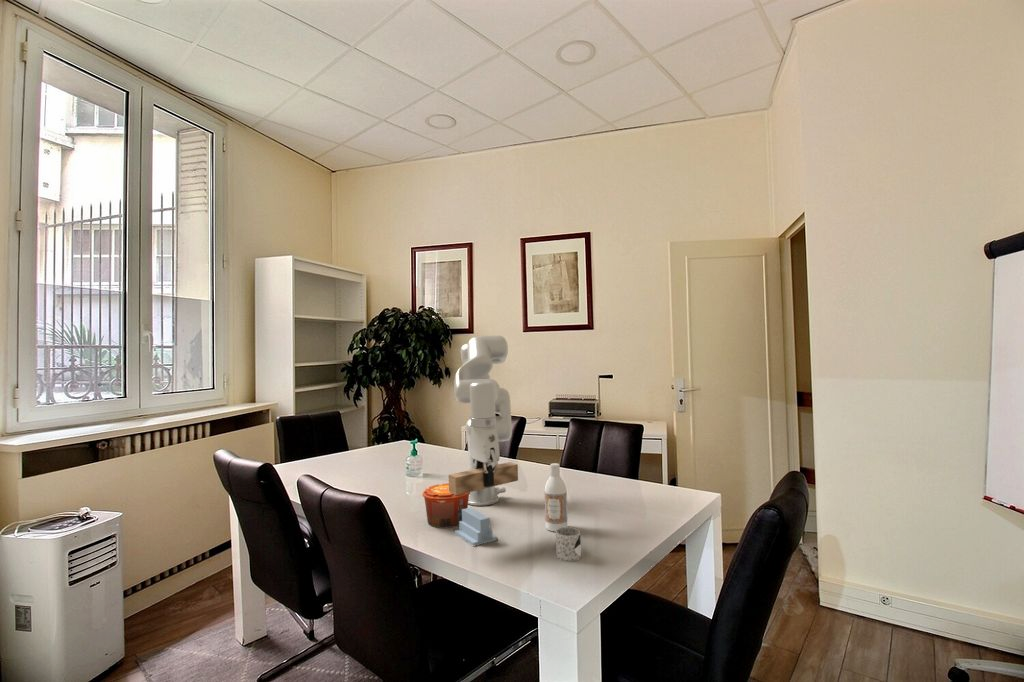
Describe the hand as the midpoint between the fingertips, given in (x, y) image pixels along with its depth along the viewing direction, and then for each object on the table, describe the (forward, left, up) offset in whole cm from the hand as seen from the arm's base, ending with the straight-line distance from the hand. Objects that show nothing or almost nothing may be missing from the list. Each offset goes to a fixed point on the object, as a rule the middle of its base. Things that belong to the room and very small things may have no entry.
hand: (484, 483), depth 142 cm
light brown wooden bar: (0, 0, -1) cm, 1 cm away
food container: (+2, -22, -17) cm, 28 cm away
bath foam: (-23, +5, -17) cm, 29 cm away
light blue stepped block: (+1, -4, -17) cm, 17 cm away
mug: (-14, +22, -17) cm, 31 cm away
